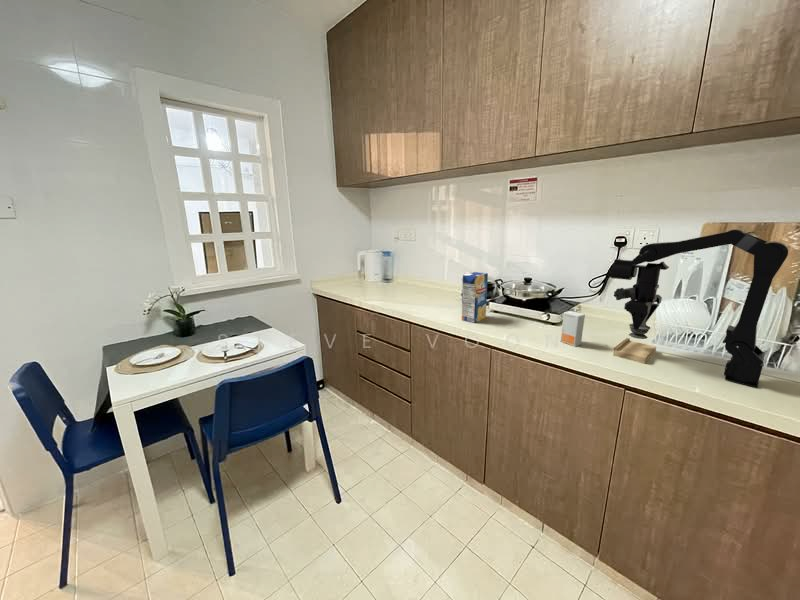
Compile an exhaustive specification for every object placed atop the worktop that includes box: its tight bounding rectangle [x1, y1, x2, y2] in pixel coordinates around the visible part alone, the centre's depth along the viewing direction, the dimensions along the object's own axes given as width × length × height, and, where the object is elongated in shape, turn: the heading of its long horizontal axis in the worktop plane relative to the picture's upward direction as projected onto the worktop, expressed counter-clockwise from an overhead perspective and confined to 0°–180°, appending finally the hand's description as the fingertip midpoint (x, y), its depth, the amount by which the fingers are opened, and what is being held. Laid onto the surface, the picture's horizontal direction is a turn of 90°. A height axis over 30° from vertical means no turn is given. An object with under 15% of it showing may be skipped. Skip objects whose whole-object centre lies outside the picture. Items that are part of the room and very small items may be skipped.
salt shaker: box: [628, 316, 651, 340], centre depth 108 cm, size 6×6×12 cm
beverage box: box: [461, 271, 489, 324], centre depth 150 cm, size 7×11×22 cm, turn 137°
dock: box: [612, 337, 657, 364], centre depth 111 cm, size 9×14×3 cm, turn 130°
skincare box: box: [559, 310, 586, 347], centre depth 120 cm, size 6×4×12 cm
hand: (639, 326), depth 108 cm, fingers closed on salt shaker, 8 cm apart
